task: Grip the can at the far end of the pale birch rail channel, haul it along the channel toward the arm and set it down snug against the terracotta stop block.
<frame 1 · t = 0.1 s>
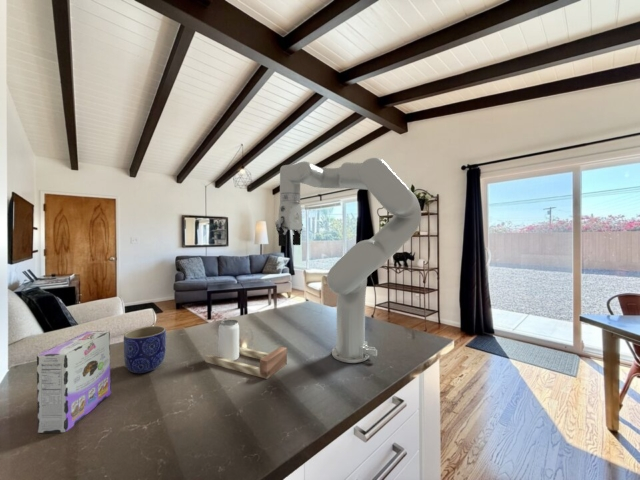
hand: (289, 245, 104), 37 cm above the worktop, tool pointing down, fingers open, 9 cm apart
planter: (145, 368, 85), on the worktop
candy box: (78, 412, 64), on the worktop
rail channel: (245, 362, 88), on the worktop
can: (229, 359, 91), on the worktop
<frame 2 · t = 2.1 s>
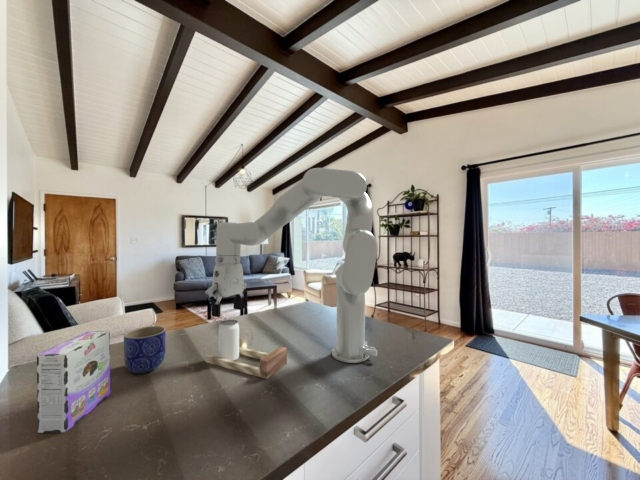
hand: (227, 312, 91), 15 cm above the worktop, tool pointing down, fingers open, 9 cm apart
nothing on the worktop moved.
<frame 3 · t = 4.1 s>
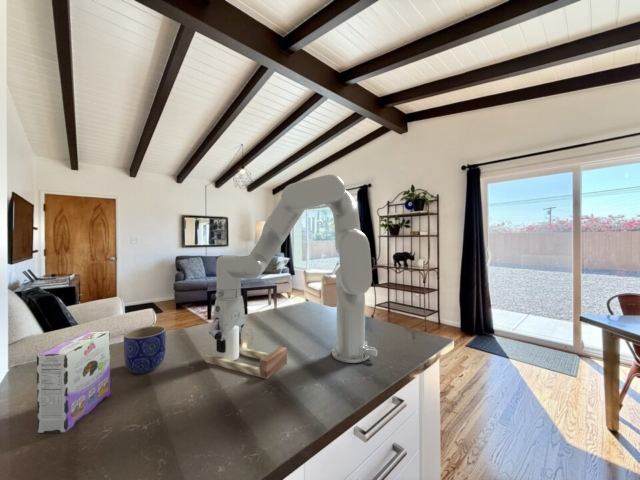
hand: (228, 347, 91), 4 cm above the worktop, tool pointing down, fingers closed on can, 6 cm apart
can: (228, 359, 91), on the worktop, touching gripper
everything else where it was.
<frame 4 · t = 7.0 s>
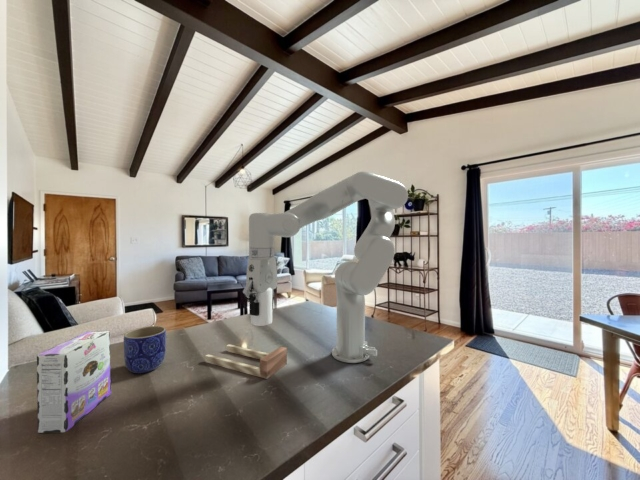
hand: (261, 311, 85), 17 cm above the worktop, tool pointing down, fingers closed on can, 6 cm apart
can: (261, 324, 86), point 13 cm above the worktop, touching gripper
everything else where it was.
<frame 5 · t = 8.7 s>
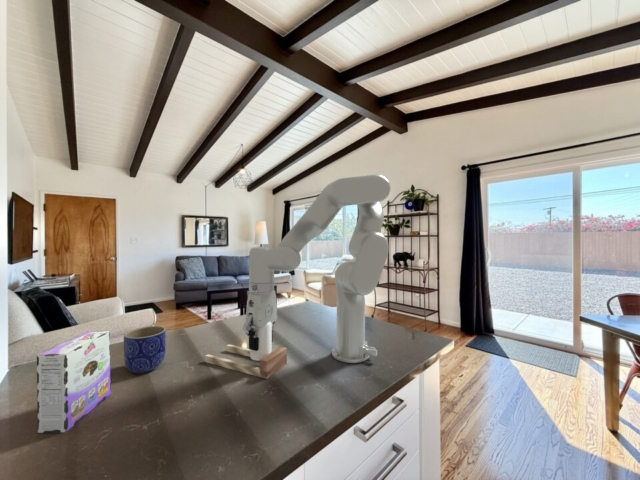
hand: (261, 345, 86), 7 cm above the worktop, tool pointing down, fingers closed on can, 6 cm apart
can: (260, 357, 86), point 3 cm above the worktop, touching gripper
everything else where it was.
when the fingers open (5 cm above the worktop, at t = 10.0 s): can drops 1 cm, on the worktop.
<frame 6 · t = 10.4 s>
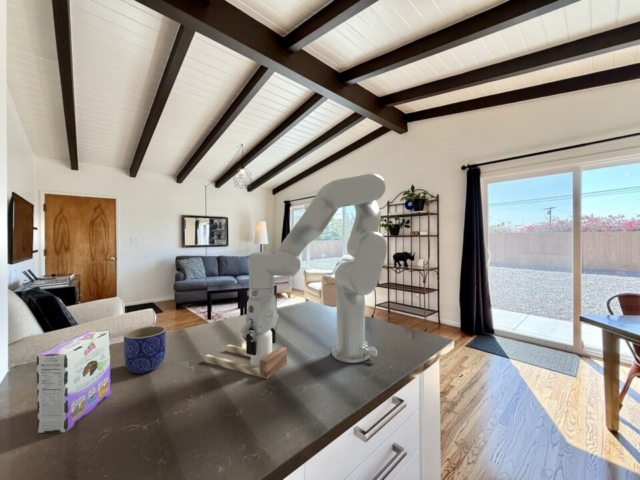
hand: (261, 348, 86), 6 cm above the worktop, tool pointing down, fingers open, 9 cm apart
can: (261, 367, 86), on the worktop
everything else where it was.
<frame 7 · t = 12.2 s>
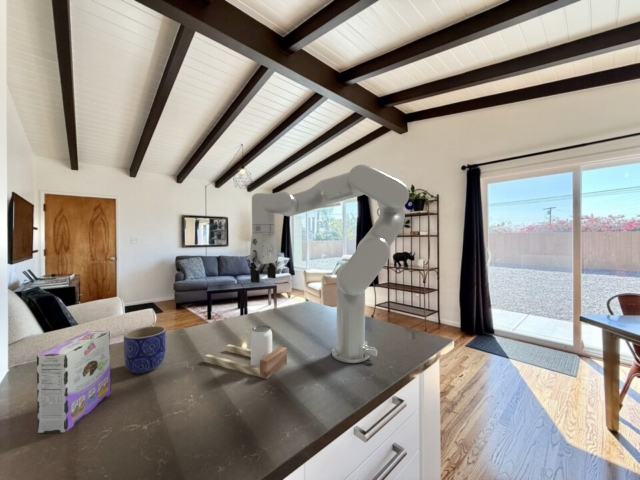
hand: (263, 280, 95), 25 cm above the worktop, tool pointing down, fingers open, 9 cm apart
nothing on the worktop moved.
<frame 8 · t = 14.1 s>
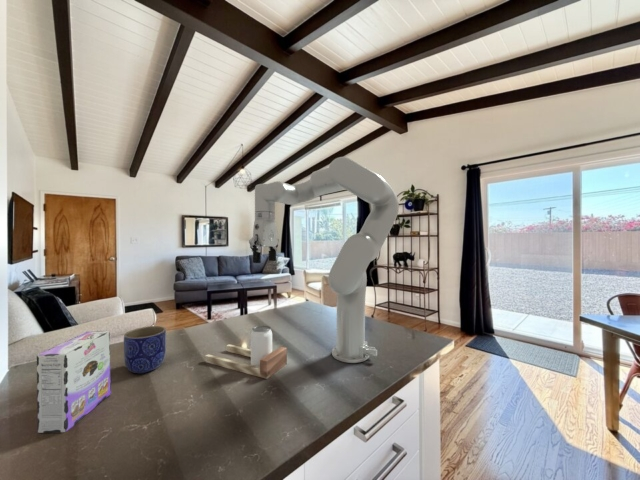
hand: (264, 261, 107), 30 cm above the worktop, tool pointing down, fingers open, 9 cm apart
nothing on the worktop moved.
at the end: can 0.6 cm from the target spot, on the worktop; can tilted 0°; the gripper is holding nothing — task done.
